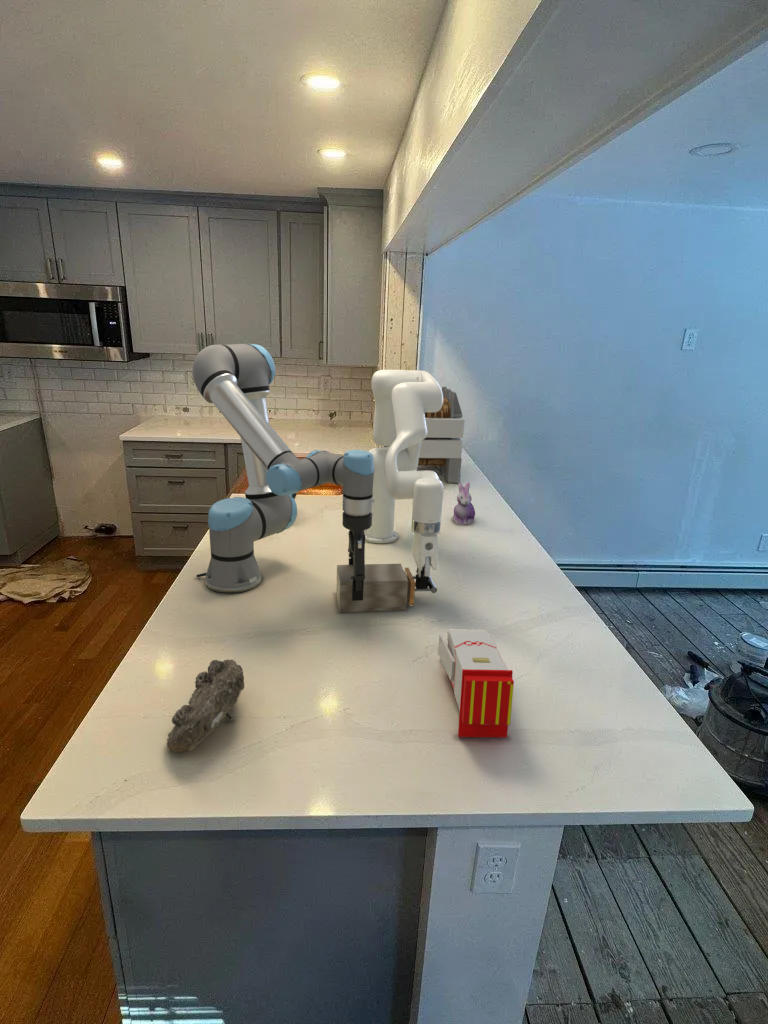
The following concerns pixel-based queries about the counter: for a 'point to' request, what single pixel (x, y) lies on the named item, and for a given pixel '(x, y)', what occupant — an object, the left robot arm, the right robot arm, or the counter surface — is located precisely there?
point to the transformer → (444, 438)
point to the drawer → (411, 586)
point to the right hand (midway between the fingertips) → (421, 588)
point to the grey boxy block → (373, 588)
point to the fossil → (206, 705)
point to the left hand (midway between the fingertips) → (355, 589)
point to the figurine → (464, 506)
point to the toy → (478, 682)
